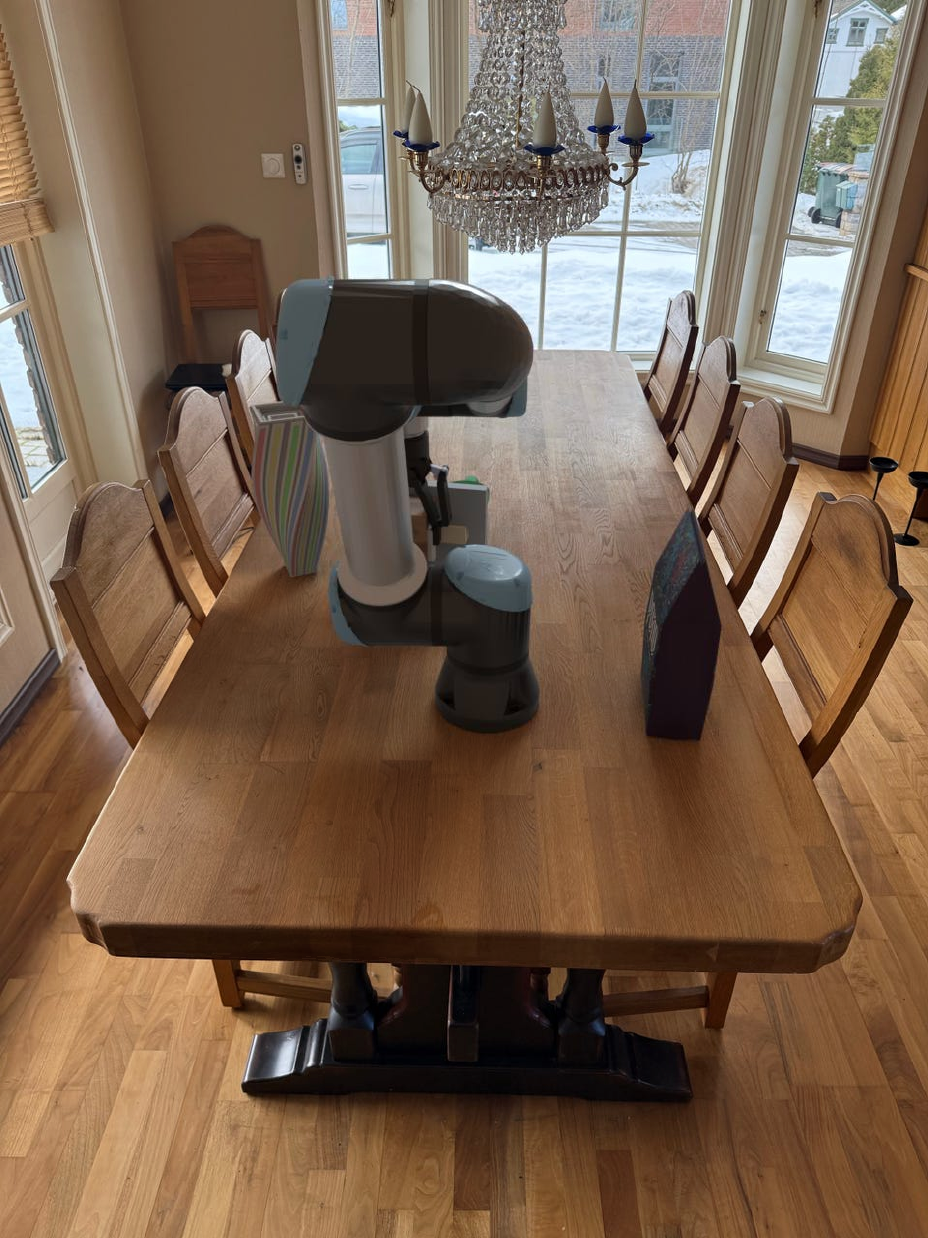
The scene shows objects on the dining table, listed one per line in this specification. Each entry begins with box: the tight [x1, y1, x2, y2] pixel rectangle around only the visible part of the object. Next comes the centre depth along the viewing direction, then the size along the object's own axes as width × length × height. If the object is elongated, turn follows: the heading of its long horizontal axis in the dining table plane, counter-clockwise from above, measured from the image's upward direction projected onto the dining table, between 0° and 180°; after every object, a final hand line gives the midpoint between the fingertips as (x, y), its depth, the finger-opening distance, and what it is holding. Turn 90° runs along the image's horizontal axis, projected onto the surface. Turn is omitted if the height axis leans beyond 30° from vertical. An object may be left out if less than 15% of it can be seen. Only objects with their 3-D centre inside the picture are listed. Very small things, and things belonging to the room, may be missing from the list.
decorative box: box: [640, 507, 723, 741], centre depth 119 cm, size 8×16×28 cm, turn 173°
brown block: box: [409, 495, 436, 561], centre depth 147 cm, size 9×7×10 cm
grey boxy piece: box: [408, 480, 489, 561], centre depth 155 cm, size 11×24×18 cm, turn 79°
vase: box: [248, 400, 330, 578], centre depth 152 cm, size 14×14×30 cm
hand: (409, 558), depth 149 cm, fingers closed on brown block, 7 cm apart
